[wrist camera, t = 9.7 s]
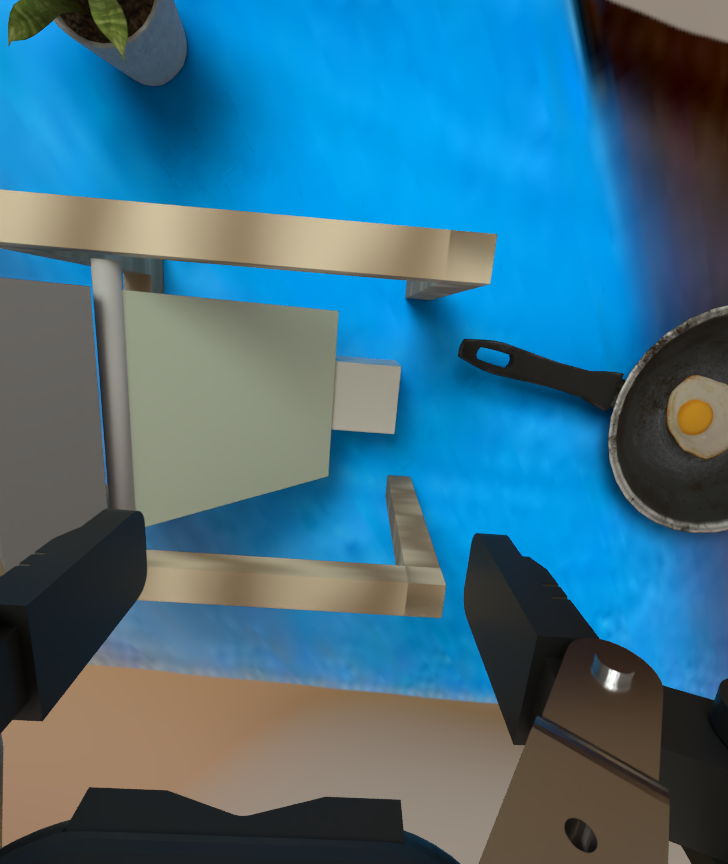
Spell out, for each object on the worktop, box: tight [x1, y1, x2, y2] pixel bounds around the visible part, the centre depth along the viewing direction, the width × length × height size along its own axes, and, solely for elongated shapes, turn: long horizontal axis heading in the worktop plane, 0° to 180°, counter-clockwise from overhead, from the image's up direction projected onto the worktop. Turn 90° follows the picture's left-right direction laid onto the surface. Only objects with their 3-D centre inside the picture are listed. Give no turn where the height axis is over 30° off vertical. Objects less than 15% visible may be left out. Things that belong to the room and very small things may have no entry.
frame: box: [0, 190, 497, 618], centre depth 28 cm, size 23×19×16 cm
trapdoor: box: [0, 258, 339, 572], centre depth 25 cm, size 19×14×5 cm
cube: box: [331, 356, 401, 434], centre depth 34 cm, size 5×5×5 cm
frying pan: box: [458, 306, 728, 533], centre depth 35 cm, size 19×32×4 cm, turn 74°
